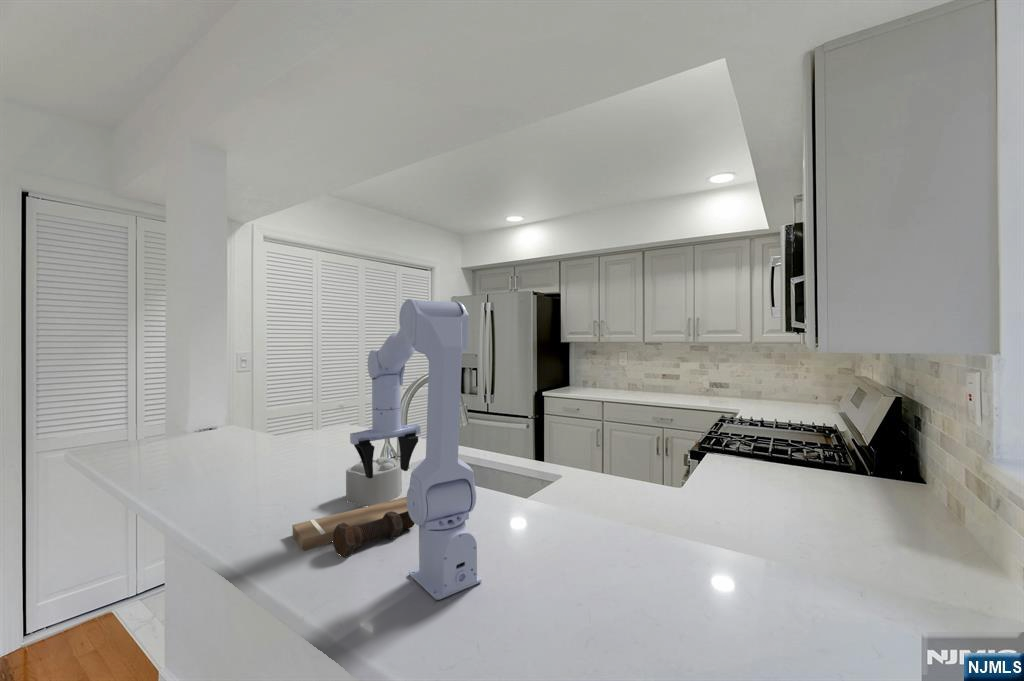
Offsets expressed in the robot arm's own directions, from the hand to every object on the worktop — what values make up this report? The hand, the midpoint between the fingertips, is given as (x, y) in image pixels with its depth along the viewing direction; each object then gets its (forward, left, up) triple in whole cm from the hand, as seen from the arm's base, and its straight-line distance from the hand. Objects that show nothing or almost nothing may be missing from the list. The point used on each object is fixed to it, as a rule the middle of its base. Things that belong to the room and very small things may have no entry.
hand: (387, 473), depth 91 cm
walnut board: (+1, +5, -10) cm, 11 cm away
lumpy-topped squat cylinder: (+16, -4, -10) cm, 19 cm away
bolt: (-7, +5, -10) cm, 14 cm away
